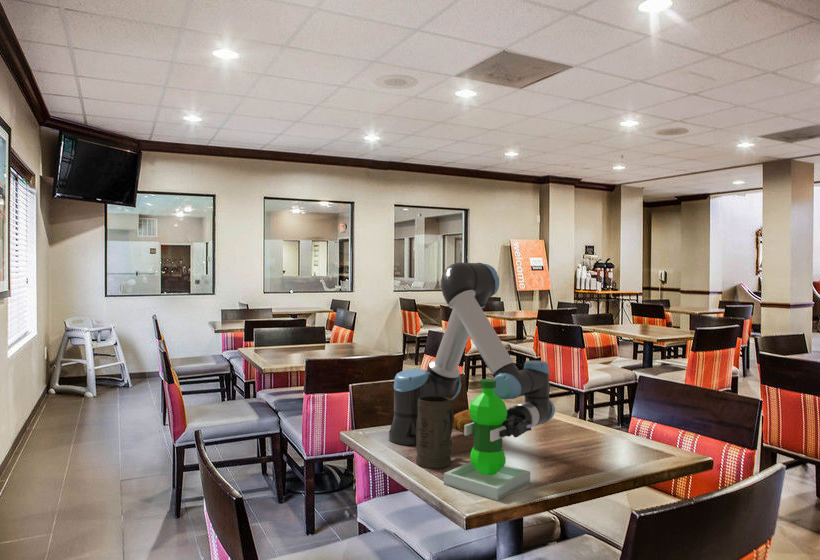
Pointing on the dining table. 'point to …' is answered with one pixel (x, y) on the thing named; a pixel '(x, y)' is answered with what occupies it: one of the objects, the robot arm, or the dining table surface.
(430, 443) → the beer stein
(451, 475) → the tray
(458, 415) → the bread loaf
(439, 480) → the dining table surface
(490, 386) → the plastic bottle
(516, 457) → the dining table surface
